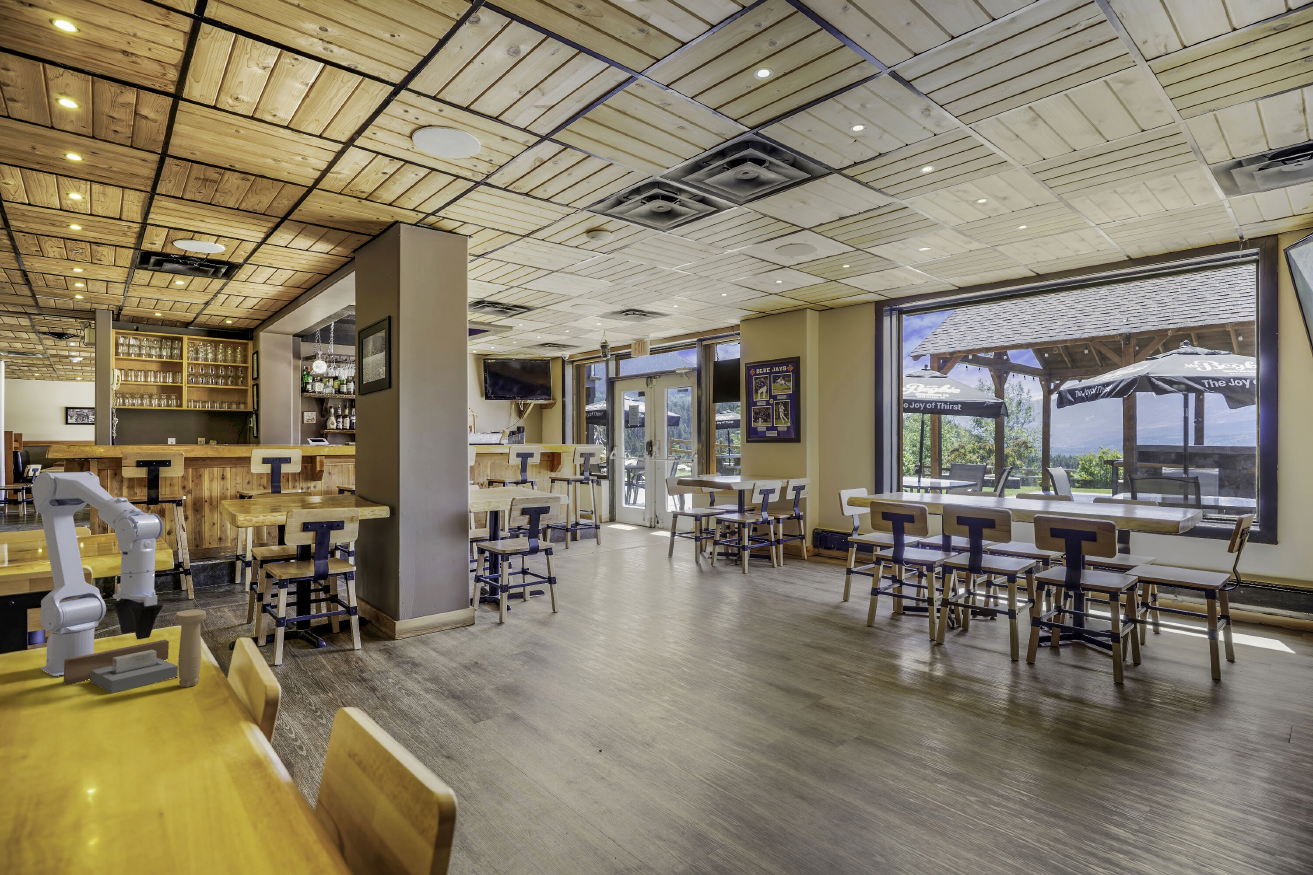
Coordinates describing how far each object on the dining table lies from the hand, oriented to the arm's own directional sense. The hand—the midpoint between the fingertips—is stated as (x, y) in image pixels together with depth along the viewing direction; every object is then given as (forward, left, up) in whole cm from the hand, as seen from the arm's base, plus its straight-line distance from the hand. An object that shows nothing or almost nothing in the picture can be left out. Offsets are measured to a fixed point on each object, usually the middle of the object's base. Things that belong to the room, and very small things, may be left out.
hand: (135, 635), depth 140 cm
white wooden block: (0, 0, -10) cm, 10 cm away
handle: (+13, +5, -10) cm, 17 cm away
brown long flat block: (-8, 0, -9) cm, 13 cm away
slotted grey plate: (0, 0, -9) cm, 9 cm away
